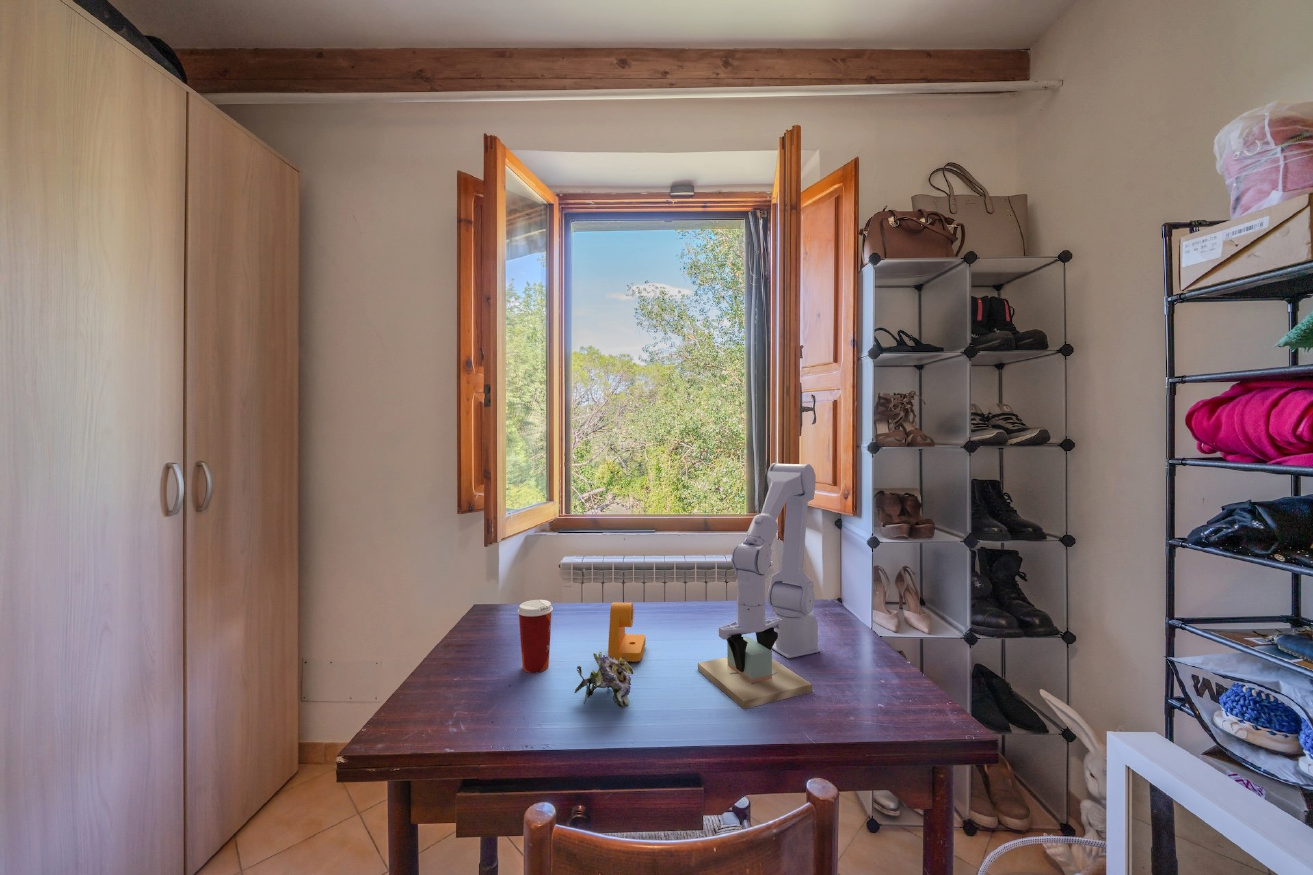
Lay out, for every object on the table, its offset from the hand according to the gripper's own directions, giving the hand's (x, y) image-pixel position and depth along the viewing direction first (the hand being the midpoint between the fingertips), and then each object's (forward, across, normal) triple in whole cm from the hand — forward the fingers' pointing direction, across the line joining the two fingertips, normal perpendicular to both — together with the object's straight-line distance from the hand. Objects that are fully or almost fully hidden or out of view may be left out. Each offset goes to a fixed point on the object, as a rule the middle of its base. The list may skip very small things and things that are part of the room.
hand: (751, 667), depth 109 cm
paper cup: (+3, +40, -25) cm, 47 cm away
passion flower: (+3, +31, -4) cm, 31 cm away
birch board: (+3, 0, 0) cm, 3 cm away
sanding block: (+1, 0, -1) cm, 1 cm away
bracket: (+3, +19, -23) cm, 30 cm away
